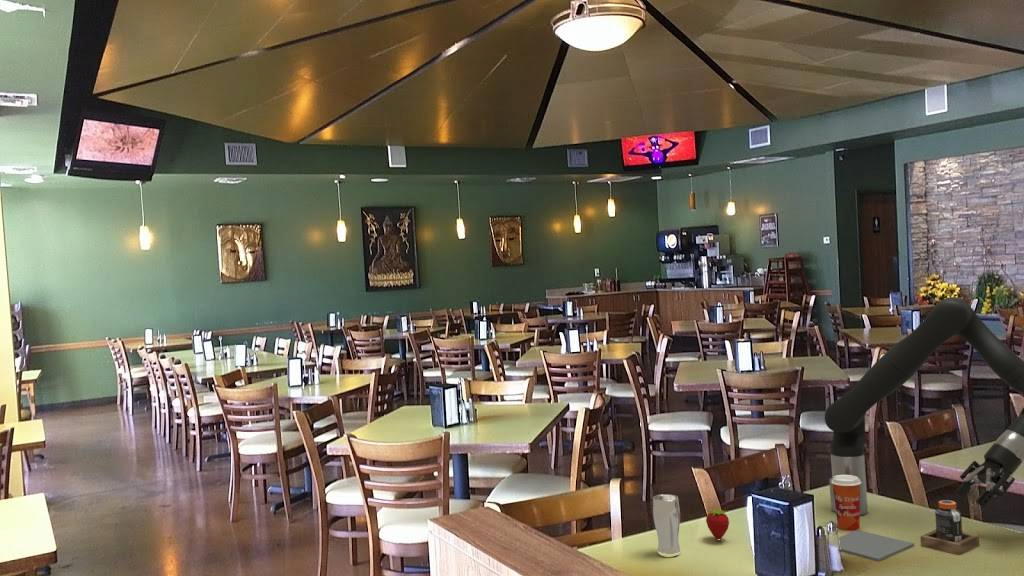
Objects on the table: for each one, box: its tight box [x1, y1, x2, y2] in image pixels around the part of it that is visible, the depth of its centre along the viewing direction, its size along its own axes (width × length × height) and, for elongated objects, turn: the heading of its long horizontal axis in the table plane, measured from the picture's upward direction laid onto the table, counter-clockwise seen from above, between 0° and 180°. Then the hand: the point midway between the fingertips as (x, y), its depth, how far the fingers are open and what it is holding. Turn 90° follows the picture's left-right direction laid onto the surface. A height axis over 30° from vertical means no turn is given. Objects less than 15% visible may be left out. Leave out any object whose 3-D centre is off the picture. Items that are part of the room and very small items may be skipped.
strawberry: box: [705, 503, 730, 540], centre depth 224 cm, size 6×8×10 cm
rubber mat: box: [839, 529, 915, 562], centre depth 212 cm, size 16×16×1 cm
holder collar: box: [920, 529, 980, 556], centre depth 209 cm, size 10×10×2 cm
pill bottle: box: [934, 499, 963, 543], centre depth 209 cm, size 6×6×11 cm
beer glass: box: [652, 493, 681, 554], centre depth 216 cm, size 7×7×15 cm
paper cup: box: [831, 475, 861, 531], centre depth 228 cm, size 8×8×14 cm
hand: (968, 500), depth 209 cm, fingers open, 8 cm apart
